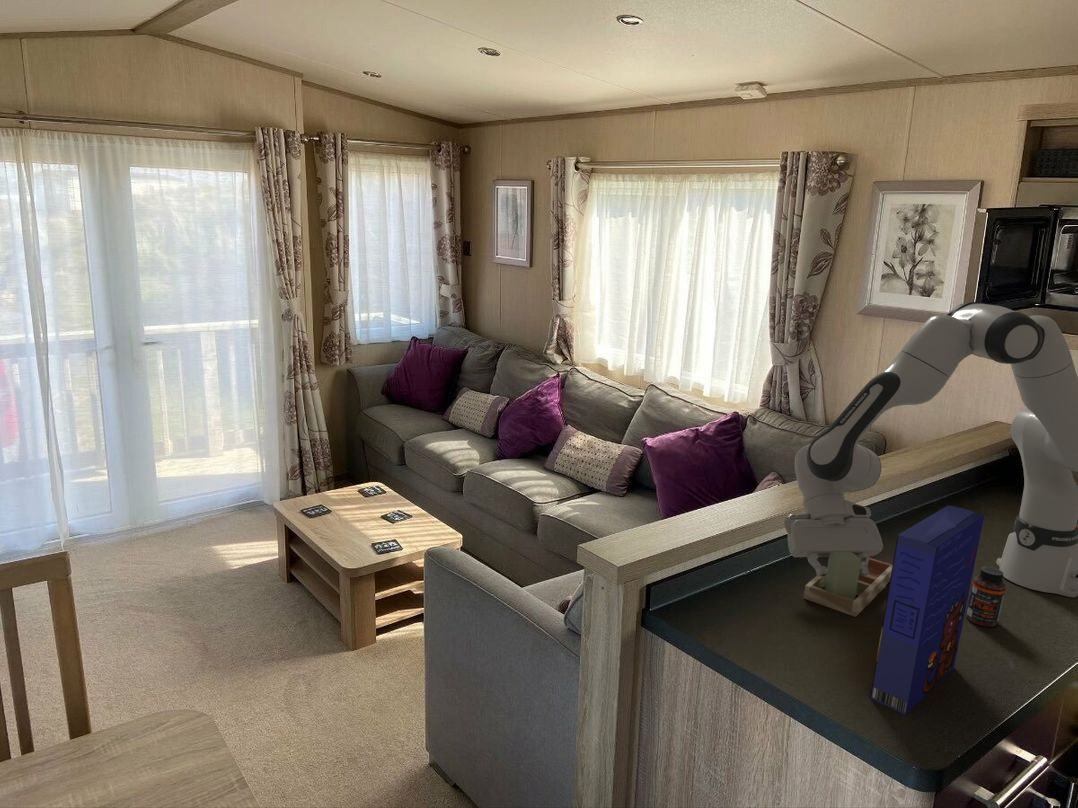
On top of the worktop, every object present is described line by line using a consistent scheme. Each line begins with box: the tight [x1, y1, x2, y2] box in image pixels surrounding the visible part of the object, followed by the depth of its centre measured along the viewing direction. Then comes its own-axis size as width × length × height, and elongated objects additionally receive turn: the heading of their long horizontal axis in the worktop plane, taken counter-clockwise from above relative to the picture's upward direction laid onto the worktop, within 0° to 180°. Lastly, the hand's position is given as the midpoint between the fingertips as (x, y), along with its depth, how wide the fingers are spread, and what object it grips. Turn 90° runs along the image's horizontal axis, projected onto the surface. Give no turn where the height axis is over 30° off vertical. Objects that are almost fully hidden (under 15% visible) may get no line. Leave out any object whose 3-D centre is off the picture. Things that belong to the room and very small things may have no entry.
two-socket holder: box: [803, 556, 893, 618], centre depth 175 cm, size 25×11×3 cm, turn 140°
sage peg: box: [823, 551, 861, 600], centre depth 169 cm, size 5×5×10 cm
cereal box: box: [869, 504, 985, 716], centre depth 137 cm, size 22×6×30 cm, turn 134°
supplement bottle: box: [965, 566, 1007, 628], centre depth 163 cm, size 6×6×11 cm
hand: (843, 575), depth 169 cm, fingers open, 8 cm apart
